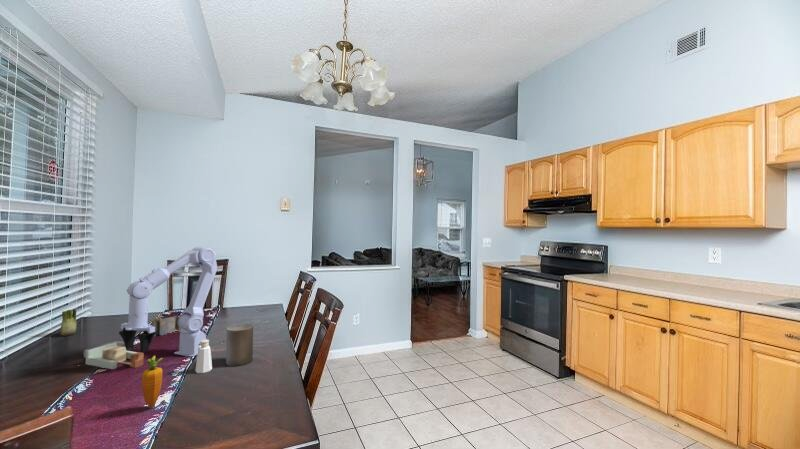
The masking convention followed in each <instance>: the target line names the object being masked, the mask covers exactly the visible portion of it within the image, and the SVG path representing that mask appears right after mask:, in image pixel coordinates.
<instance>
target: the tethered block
mask: <svg viewBox="0 0 800 449" xmlns="http://www.w3.org/2000/svg"><path fill="white" fill-rule="evenodd" d="M136 352H137V353H135V354H132V355H131V356H130V359H129V360H130V362H129V361H128V362H127V358H126V347H121V346H115V347H111V348H108V349H105V350H103V351H102V359H107V360H112V361H117V364H120V365H121V364H122V365H129V367H130V368H134V369H135V368H138V367H141V366H144V357H145V352H141V351H136Z"/></svg>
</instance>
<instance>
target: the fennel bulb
mask: <svg viewBox="0 0 800 449" xmlns="http://www.w3.org/2000/svg"><path fill="white" fill-rule="evenodd" d="M61 317H62V320H61V323H60V324H61V325H60V330H59V331H60V335H61V336H63V337H67V336H72V335H74V334H76V331H77V308H73V309H67V310H63V311H62V312H61Z"/></svg>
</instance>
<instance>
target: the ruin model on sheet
mask: <svg viewBox="0 0 800 449" xmlns="http://www.w3.org/2000/svg"><path fill="white" fill-rule="evenodd" d="M180 316H181V315H175V316H174V315H173V316H170V317H165V318H161V317H162V316H159V317H155V318H153V319H152V320H151V326H153V327H155V331H156V334H155V335H154V337H153V338H155V337H156V336H159V335H161V336H165V335H168V334H167V333H170V334H172V332H174V333H176V332H175V331H178V332H180V329H181V327H180V326H179V325H178V319H179V317H180ZM158 334H159V335H158ZM164 334H165V335H164Z"/></svg>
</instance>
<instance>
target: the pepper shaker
mask: <svg viewBox="0 0 800 449" xmlns="http://www.w3.org/2000/svg"><path fill="white" fill-rule="evenodd" d="M200 343H201V344H200V345H201V346H200V348H199V349H198V354H197V355H196V356H197V357H196V364H195V371H194V372H195V373H197V374H204V373H205V374H206V373H209V372H211V370H213V363H212V352H211V351H212V350H211V346H210V345H209V343H210V339H207V338H206V339H205V340H201V341H200Z"/></svg>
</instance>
